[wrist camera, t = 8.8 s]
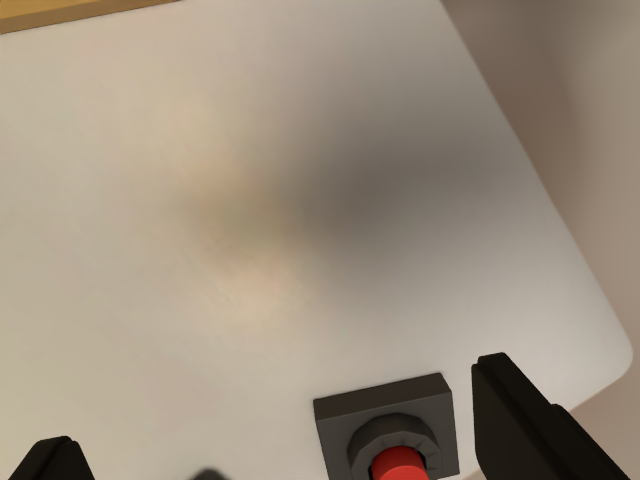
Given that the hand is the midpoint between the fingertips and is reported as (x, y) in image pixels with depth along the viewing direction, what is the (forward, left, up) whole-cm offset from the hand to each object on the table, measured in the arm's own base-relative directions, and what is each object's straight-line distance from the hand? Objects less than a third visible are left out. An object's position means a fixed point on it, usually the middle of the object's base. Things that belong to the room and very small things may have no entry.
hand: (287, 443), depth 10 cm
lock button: (-4, +18, -14) cm, 23 cm away
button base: (-4, +18, -18) cm, 26 cm away
